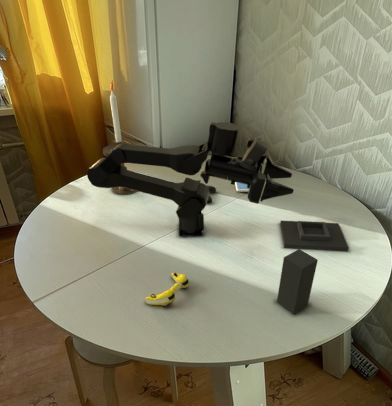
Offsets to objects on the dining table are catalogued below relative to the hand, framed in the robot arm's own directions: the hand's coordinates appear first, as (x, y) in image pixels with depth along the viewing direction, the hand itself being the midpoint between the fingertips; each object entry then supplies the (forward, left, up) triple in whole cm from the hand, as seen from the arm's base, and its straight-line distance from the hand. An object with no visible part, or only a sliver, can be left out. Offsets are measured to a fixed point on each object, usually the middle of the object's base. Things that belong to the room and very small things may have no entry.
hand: (292, 183), depth 86 cm
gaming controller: (-20, +26, -17) cm, 37 cm away
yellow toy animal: (-30, -20, -17) cm, 40 cm away
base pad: (+8, +1, -16) cm, 18 cm away
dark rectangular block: (-4, -24, -16) cm, 30 cm away
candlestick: (-47, +34, -17) cm, 60 cm away
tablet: (-3, +37, -16) cm, 41 cm away
